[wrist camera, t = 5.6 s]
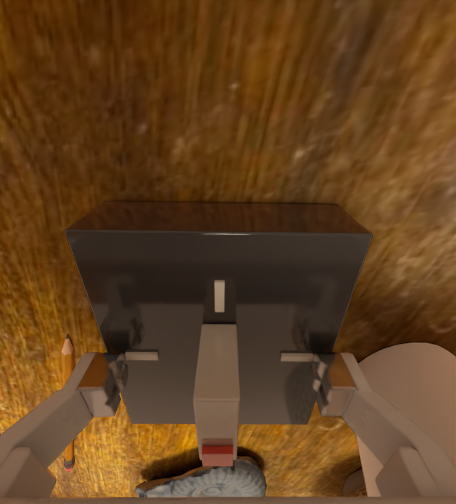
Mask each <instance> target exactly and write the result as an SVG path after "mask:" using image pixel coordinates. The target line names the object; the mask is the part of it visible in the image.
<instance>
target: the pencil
mask: <svg viewBox="0 0 456 504" xmlns="http://www.w3.org/2000/svg"><path fill="white" fill-rule="evenodd" d="M61 361H62V388H63V387H64V385H65V383H66V382H67V380H68V378H69V377H70V375H71V373H72V372H73V370H74V348H73V346H72V344H71V342H70V339H69V337H68V334H67V337H66V340H65V343H64V346H63V349H62V352H61ZM74 458H75V457H74V440H73V441H72V442H71V443H70V444H69V445H68V446H67V447H66V448H65V459H64V466H65V468H66V470H67V471H70V470H71V469H72V468H73V465H74V461H75V460H74Z"/></svg>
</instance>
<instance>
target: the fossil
mask: <svg viewBox="0 0 456 504" xmlns="http://www.w3.org/2000/svg"><path fill="white" fill-rule="evenodd" d="M266 487H267V485H266V481H265V476H264V474H263V472H262V470H261V468H260V466H259V465H258V463H257V462H256V461H255V460H254V459H253V458H251V457H237V458H236V460H233V466H202V467H199V468H196V469H193V470H190V471H188V472H187V473H185V474H184V475H181V476H176V477H172V478H163V479H156V480H152V481H148V482H145V481H144V482H143V483H141V484H139V485H138V486H136V488H135V492H136V493H137V494H138V496H139V497H265V491H266Z"/></svg>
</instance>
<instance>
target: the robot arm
mask: <svg viewBox="0 0 456 504" xmlns="http://www.w3.org/2000/svg"><path fill="white" fill-rule="evenodd" d="M124 359H125V357H124V354H123V353H101V352H86V353H85V354H84V355H82V357H81V358H80V360H79V362H78V363H77V365H76V367H75V368H74V370H73V372H72V373H71V375H70V377H69V378H68V380H67V382H66V383H65V385H64V387H63V388H62V390H60V391H56V392H55V393H54V394H52V395H51V396H50V397H49V398H47V399H46V400H45V401H43V402H42V403H41V404H39V405H38V406H37V407H36V408H34V409H33V410H32V411H30V412H29V413H28V414H27V415H25V416H24V417H23V418H21V419H20V420H19V421H18V422H16V423H15V424H14V425H12V426H11V427H10V428H8V429H7V430H6V431H5V432H3V433H2V434H1V435H0V504H456V466H455V465H454V463H453V462H452V460H451V459H450V457H449V456H448V454H447V453H446V451H445V449H444V448H443V446H442V445H441V444H440V443H438V442H437V441H436V440H435V439H434V438H432V437H431V436H430V435H429V434H428V433H426V432H425V431H424V430H423V429H422V428H420V427H419V426H418V425H417V424H415V423H414V422H413V421H412V420H411V419H409V418H408V417H407V416H406V415H405V414H403V413H402V412H401V411H400V410H399V409H397V408H396V407H395V406H394V405H393V404H391V403H390V402H389V401H388V400H387V399H385V398H384V397H383V396H382V395H381V394H379V393H378V392H377V391H373V390H372V389H371V387H370V385H369V383H368V382H367V380H366V378H365V376H364V374H363V372H362V370H361V368H360V367H359V365H358V363H357V361H356V359H355V357H354V355H353V354H352V353H338V352H329V353H315V354H314V355H313V361H314V363H313V364H311V366H310V381H311V385H312V388H313V389H314V390H315V391H316V392H317V393H318V394H317V397H316V401H317V404H318V407H319V410H320V414H321V416H332V417H343V419H344V421H345V422H346V423H347V424H348V425H349V426H350V428H351V429H352V430H353V431H354V432H355V433H356V435H357V436H358V437H359V438H360V439H361V440H362V442H363V443H364V444H365V445H366V446H367V448H368V449H369V450H370V451H371V452H372V453H373V455H374V456H375V457H376V458H377V459H378V460H379V462H380V463H381V464H382V465H383V466H384V467H383V468H382V470H381V471H380V472H379V474H378V475H377V477H376V479H375V482H376V485H377V487H378V490H379V492H380V495H381V497H54V498H49V496H50V494H51V492H52V490H53V488H54V485H55V483H56V478H55V476H54V475H53V474H52V473H51V471H50V470H49V469H48V467H49V466H50V465H51V464H52V463H53V462H54V460H55V459H56V458H57V457H58V456H59V455H60V454H61V453H62V452H63V451H64V449H65V448H66V447H67V446H68V445H69V444H70V443H71V442H72V441H73V440H74V439H75V437H76V436H77V435H78V434H79V433H80V432H81V431H82V430H83V429H84V428H85V427H86V425H87V424H88V423H89V422H90V421H91V420H92V419H93V417H108V416H115V413H116V411H117V408H118V405H119V403H120V400H121V398H120V395H119V393H120V392H121V391H122V390H123V389H125V386H126V383H127V380H128V374H129V373H128V366H127V364H125V363H124Z"/></svg>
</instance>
